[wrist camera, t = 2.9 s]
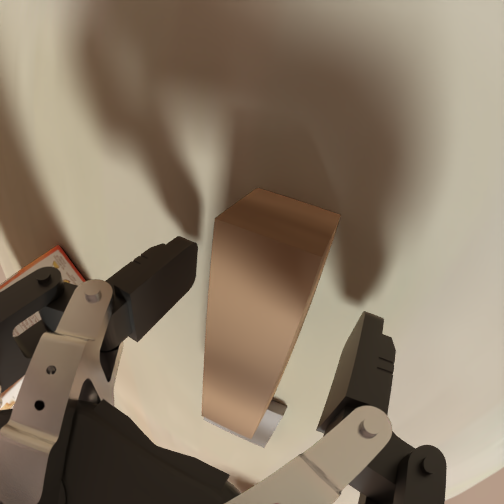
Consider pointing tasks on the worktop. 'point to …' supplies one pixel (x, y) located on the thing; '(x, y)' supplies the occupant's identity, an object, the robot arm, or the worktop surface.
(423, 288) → the worktop surface
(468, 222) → the worktop surface
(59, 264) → the cracker box
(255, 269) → the tan flat bar
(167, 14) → the worktop surface
